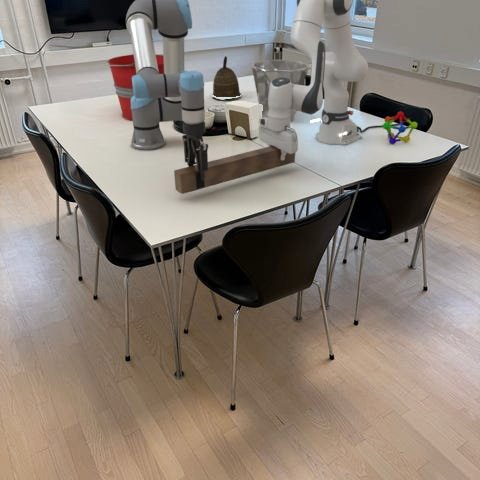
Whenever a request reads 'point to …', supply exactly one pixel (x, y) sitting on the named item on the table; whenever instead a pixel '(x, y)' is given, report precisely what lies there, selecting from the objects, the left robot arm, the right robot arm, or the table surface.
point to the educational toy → (398, 128)
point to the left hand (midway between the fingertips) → (197, 185)
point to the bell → (225, 82)
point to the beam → (231, 168)
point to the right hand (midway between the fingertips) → (277, 157)
